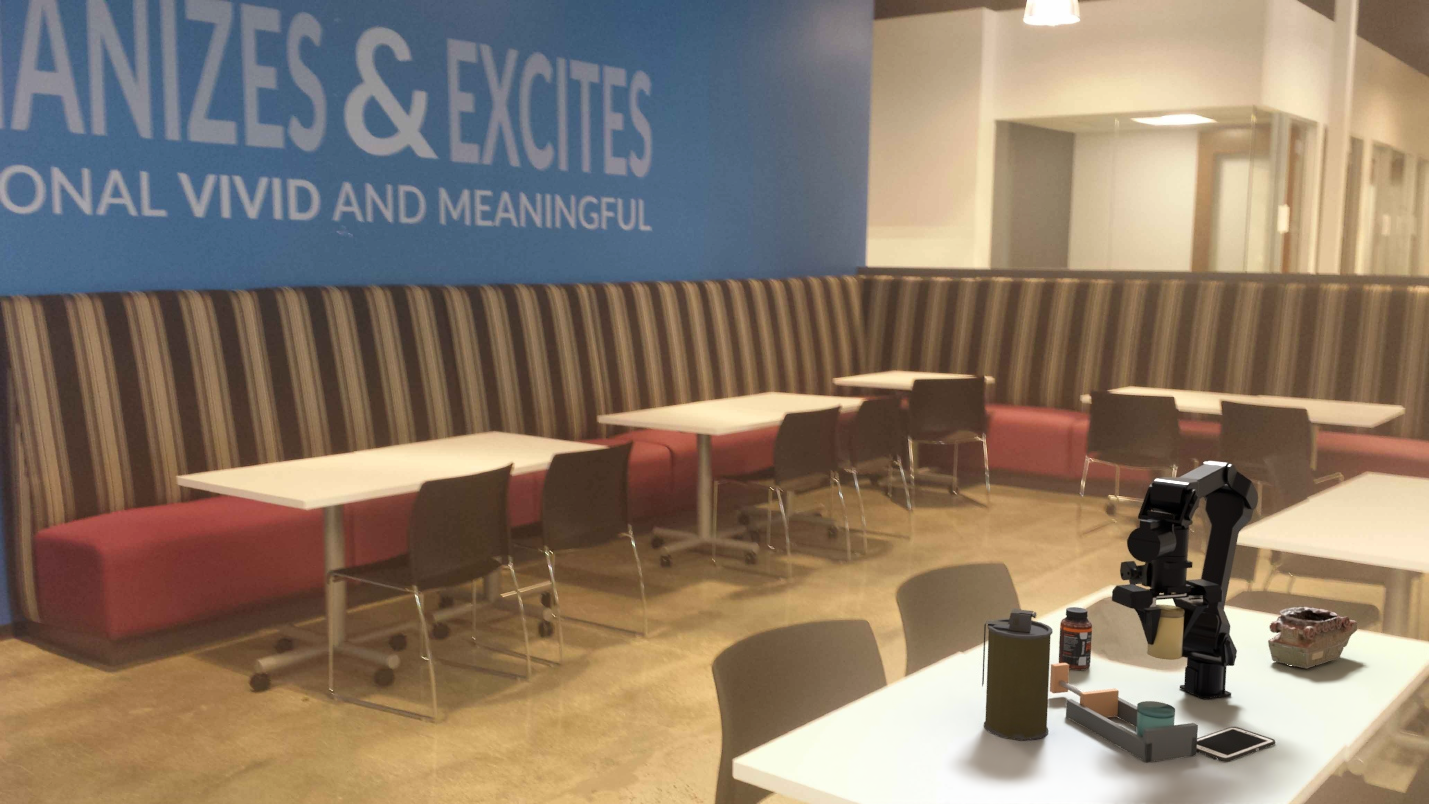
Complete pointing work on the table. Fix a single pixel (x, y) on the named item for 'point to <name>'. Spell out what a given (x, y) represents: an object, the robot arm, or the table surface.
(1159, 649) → the ochre jar
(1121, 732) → the lane
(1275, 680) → the table surface
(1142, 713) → the jar
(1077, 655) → the supplement bottle
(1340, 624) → the decorative box
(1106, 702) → the pusher
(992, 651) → the canister
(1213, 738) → the cell phone
